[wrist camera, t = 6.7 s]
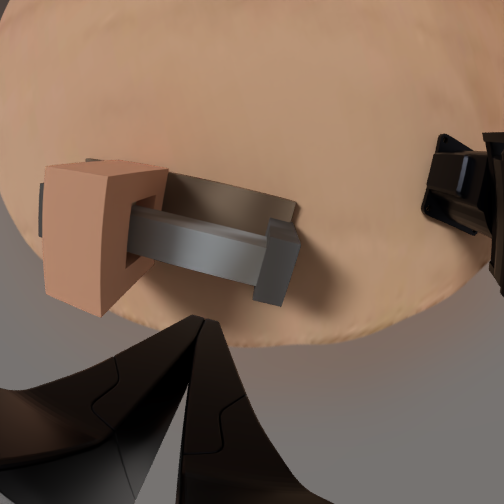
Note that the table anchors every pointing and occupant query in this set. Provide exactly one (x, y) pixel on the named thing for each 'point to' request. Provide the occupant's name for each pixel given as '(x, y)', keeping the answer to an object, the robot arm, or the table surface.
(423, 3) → the table surface
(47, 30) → the table surface
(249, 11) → the table surface
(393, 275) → the table surface
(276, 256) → the rail
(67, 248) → the collar
